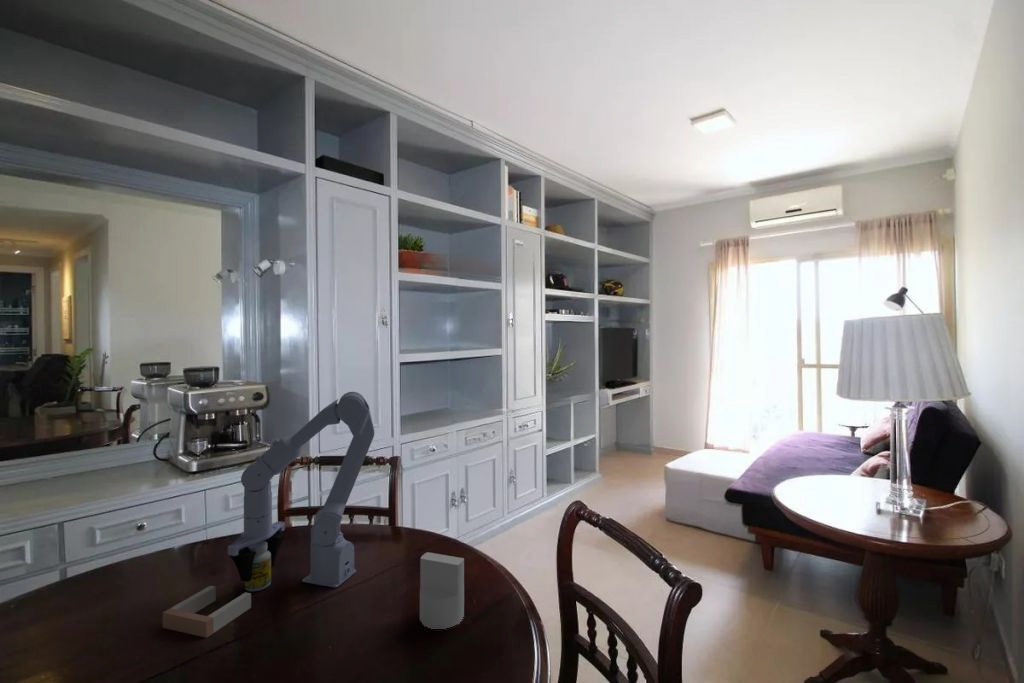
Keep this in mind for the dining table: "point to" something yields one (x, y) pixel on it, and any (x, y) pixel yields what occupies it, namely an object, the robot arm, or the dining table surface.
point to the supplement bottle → (260, 567)
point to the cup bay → (201, 625)
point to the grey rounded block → (441, 590)
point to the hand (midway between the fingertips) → (257, 573)
